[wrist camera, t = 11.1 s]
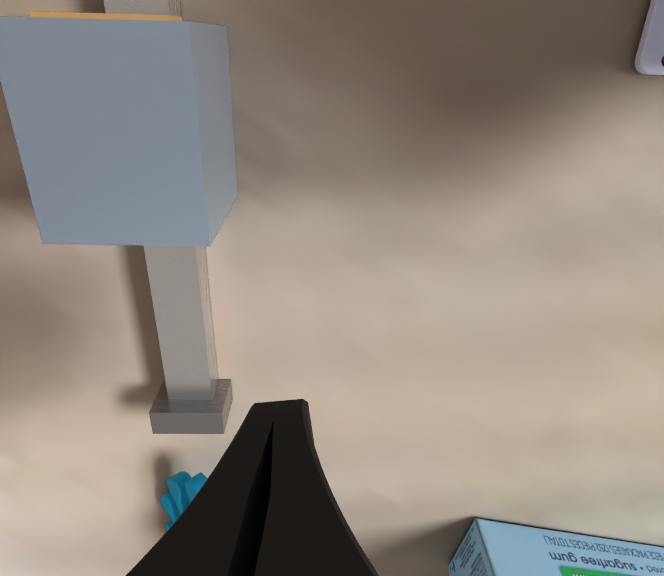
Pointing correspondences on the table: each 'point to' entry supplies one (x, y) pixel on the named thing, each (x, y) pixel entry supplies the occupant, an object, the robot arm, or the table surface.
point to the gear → (180, 494)
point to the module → (121, 125)
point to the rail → (182, 315)
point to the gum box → (549, 553)
